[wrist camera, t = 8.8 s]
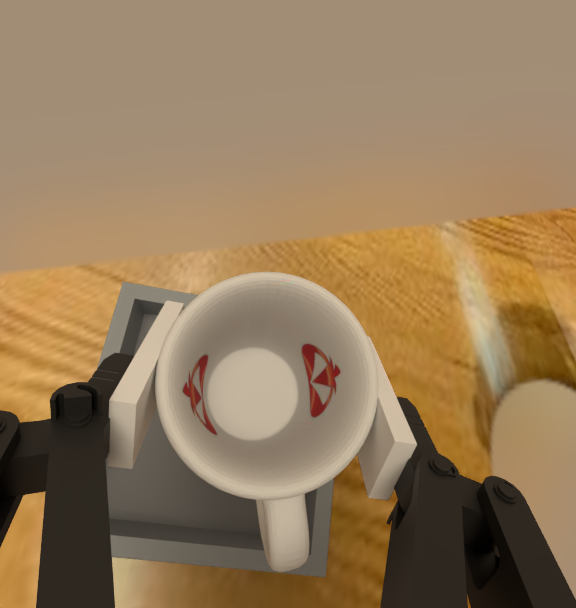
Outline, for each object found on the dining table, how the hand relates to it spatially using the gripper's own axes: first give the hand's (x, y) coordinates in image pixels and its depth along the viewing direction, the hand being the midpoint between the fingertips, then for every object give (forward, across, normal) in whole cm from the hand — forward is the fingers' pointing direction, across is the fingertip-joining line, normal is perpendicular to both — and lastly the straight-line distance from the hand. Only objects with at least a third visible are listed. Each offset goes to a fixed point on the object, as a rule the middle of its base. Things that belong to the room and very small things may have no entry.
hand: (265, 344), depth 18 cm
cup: (0, 0, -5) cm, 5 cm away
